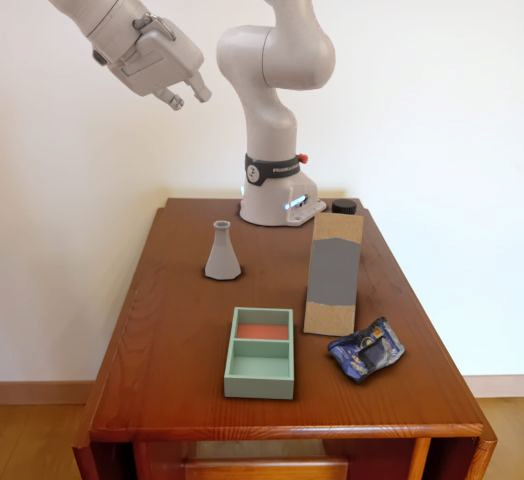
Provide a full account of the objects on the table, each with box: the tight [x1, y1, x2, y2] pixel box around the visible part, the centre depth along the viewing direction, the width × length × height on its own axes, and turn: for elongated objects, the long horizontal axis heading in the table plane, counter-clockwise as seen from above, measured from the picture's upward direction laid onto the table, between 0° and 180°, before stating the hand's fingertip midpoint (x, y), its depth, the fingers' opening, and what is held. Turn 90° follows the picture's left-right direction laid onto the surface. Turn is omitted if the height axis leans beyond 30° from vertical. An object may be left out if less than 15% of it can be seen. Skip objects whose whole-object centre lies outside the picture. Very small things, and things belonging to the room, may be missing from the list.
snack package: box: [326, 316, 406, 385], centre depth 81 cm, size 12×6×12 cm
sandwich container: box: [303, 211, 365, 337], centre depth 90 cm, size 9×15×15 cm, turn 172°
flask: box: [204, 220, 242, 280], centre depth 103 cm, size 7×7×10 cm
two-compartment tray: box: [223, 306, 295, 400], centre depth 82 cm, size 18×10×4 cm, turn 178°
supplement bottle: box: [330, 198, 358, 215], centre depth 108 cm, size 7×7×12 cm
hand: (193, 103), depth 84 cm, fingers open, 8 cm apart
